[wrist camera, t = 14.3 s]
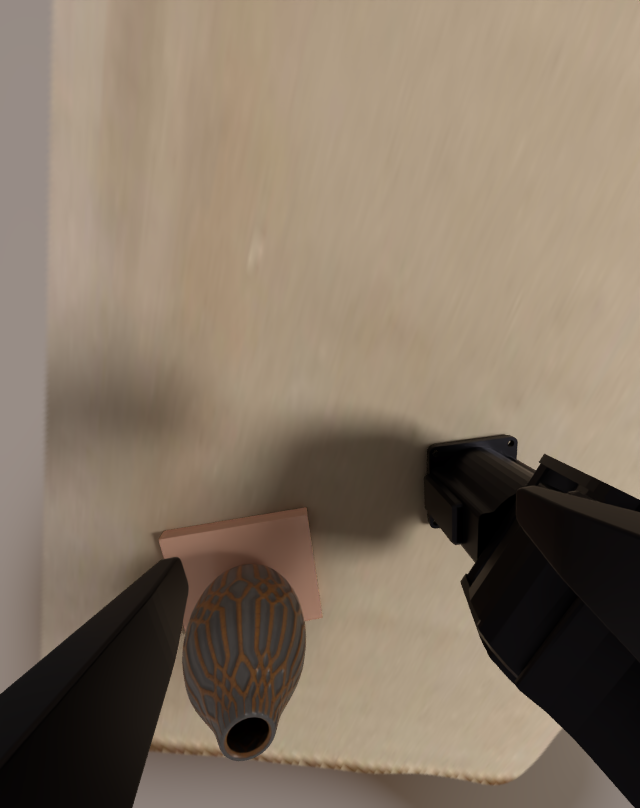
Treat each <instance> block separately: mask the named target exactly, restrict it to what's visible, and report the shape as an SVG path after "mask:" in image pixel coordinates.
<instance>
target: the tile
mask: <svg viewBox="0 0 640 808" xmlns="http://www.w3.org/2000/svg"><path fill="white" fill-rule="evenodd" d="M159 543H160V547H161V550H162V554H163V557H164V559H166V558H172V557H179V558H180V559H181V562H182V565H183V568H184V571H185V574H186V577H187V580H188V585H189V592H188V598H187V603H186V608H185V613H184V618H183V625H184V629H185V632H186V630H187V626H188V623H189V620H190V617H191V614H192V611H193V609H194V607H195V605H196V603H197V602H198V600H199V598H200V597H201V595H202V594H203V592H204V591H205V589H206V588H207V587H208V586H209V585H210V584H211V583H212V582H213V581H214V580H215V579H216V578H217V577H218V576H219V575H221V574H222V573H224V572H226V571H227V570H229V569H232V568H234V567H237V566H241V565H246V564H258V565H264V566H267V567H270V568H272V569H274V570H275V571H277V572H278V573H279V574H281V575H282V576H283V577H284V578H285V579H286V580H287V581H288V583H289V584H290V585H291V587H292V588H293V590H294V592H295V593H296V595H297V597H298V600H299V603H300V606H301V609H302V612H303V617H304V621H308V620H314V619H319V618H323V616H322V608H321V602H320V595H319V588H318V581H317V575H316V568H315V561H314V554H313V548H312V541H311V534H310V527H309V521H308V514H307V507H305V508H299V509H292V510H286V511H280V512H274V513H268V514H262V515H256V516H250V517H244V518H238V519H232V520H226V521H220V522H214V523H208V524H202V525H196V526H190V527H183V528H177V529H171V530H165V531H163V533H162V535H161V536H160V538H159Z"/></svg>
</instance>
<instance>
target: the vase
mask: <svg viewBox="0 0 640 808" xmlns="http://www.w3.org/2000/svg"><path fill="white" fill-rule="evenodd" d="M305 648H306V629H305V622H304V617H303V612H302V609H301V606H300V603H299V600H298V597H297V595H296V593H295V592H294V590H293V588H292V587H291V585H290V584H289V583H288V581H287V580H286V579H285V578H284V577H283V576H282V575H281V574H279V573H278V572H277V571H275V570H274V569H272V568H270V567H267V566H264V565H258V564H246V565H241V566H237V567H234V568H232V569H229V570H227V571H226V572H224V573H222V574H221V575H219V576H218V577H217V578H216V579H215V580H214V581H213V582H212V583H211V584H210V585H209V586H208V587H207V588H206V589H205V591H204V592H203V594H202V595H201V597H200V598H199V600H198V602H197V603H196V605H195V607H194V609H193V611H192V614H191V617H190V620H189V623H188V626H187V630H186V634H185V639H184V645H183V657H182V663H183V675H184V681H185V686H186V690H187V694H188V696H189V699H190V702H191V704H192V705H193V707H194V709H195V711H196V712H197V713H198V715H199V716H200V717H201V718H202V720H203V721H204V722H205V723H206V724H207V725H208V726H209V728H210V729H211V730H212V731H213V732H214V734H215V736H216V739H217V742H218V745H219V747H220V750H221V752H222V753H223V754H224V756H226V757H227V758H229V759H231V760H235V761H245V760H249V759H252V758H255V757H257V756H258V755H260V754H261V753H263V752H264V751H265V750H266V749H267V748H268V747H269V746H270V744H271V743H272V741H273V739H274V736H275V733H276V730H277V726H278V722H279V718H280V716H281V714H282V712H283V710H284V709H285V707H286V705H287V703H288V702H289V700H290V698H291V696H292V694H293V692H294V690H295V688H296V686H297V684H298V681H299V679H300V676H301V672H302V668H303V664H304V657H305Z"/></svg>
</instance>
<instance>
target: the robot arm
mask: <svg viewBox="0 0 640 808" xmlns="http://www.w3.org/2000/svg"><path fill="white" fill-rule="evenodd" d="M509 441H510V443H509V444H508V442H509ZM517 443H518V442H517V439H516V438H514V437H512V436H510V435H504V436H497V437H489V438H481V439H474V440H466V441H458V442H451V443H443V444H435V445H431V446H430V447H429V448H428V449H427V474H426V476H425V477H424V499H425V509H426V510H427V517H428V523H429V524H430V526H431V527H432V528H441V529H442V531H443V532H444V533H445V535H446V536H447V537H448V538H449V540H450V541H451V542H452V543H453V544H455V545H459V544H461V546H462V547H463V548H464V549H465V551H466V552H467V553H468V554H469V556H470V557H471V558H472V559H473V561H474V562H475V564H474V566H473V567H472V569H471V570H470V572H469V573H468V574H465V575H464V577H463V578H462V580H461V585H462V588H463V591H464V594H465V596H466V599H467V602H468V605H469V608H470V610H471V613H472V616H473V619H474V622H475V625H476V627H477V630H478V633H479V636H480V639H481V641H482V643H483V645H484V647H485V649H486V650H487V653H488V655H489V657H490V658H491V660H492V661H493V662H494V663H495V664H496V665H497V666H498V667H499V668H500V670H501V671H502V672H503V673H504V674H505V675H506V676H507V677H508V678H509V680H511V681H512V682H513V683H514V684H515V685H516V686H517V688H518V689H519V690H520V691H521V692H522V693H523V694H525V695H526V696H527V697H528V698H530V699H531V700H532V701H533V702H534V703H536V704H537V705H538V706H539V707H541V708H542V709H543V710H544V711H545V712H547V713H548V714H549V715H550V716H551V717H552V718H553V719H554V720H555V721H556V722H557V723H558V724H559V725H560V726H561V727H562V728H563V729H564V730H565V731H566V732H567V733H568V734H570V736H571V737H572V738H573V739H574V740H575V741H576V742H577V743H578V744H579V745H580V746H581V747H582V749H584V751H585V752H586V753H587V754H588V755H589V756H590V757H591V758H592V759H593V761H594V762H595V763H596V764H597V765H598V766H599V768H600V769H601V770H602V771H603V772H604V773H605V774H606V775H607V777H608V778H609V779H610V780H611V781H612V782H613V784H614V785H615V786H616V787H617V788H618V789H619V790H620V791H621V793H622V794H623V795H624V796H625V797H626V798H627V799H628V801H629V802H630V803H631V804H632V805H633V806H634V807H635V808H640V500H639V499H637V498H635V497H633V496H631V495H629V494H627V493H625V492H623V491H621V490H618V489H616V488H614V487H612V486H610V485H608V484H606V483H604V482H602V481H600V480H598V479H596V478H594V477H592V476H590V475H587V474H585V473H583V472H581V471H579V470H577V469H575V468H573V467H571V466H569V465H567V464H565V463H562V462H560V461H558V460H556V459H554V458H552V457H550V456H548V455H546V454H544V455H543V457H542V458H541V460H540V461H539V463H541V464H540V465H539V467H538V468H537V470H534V469H532V468H531V467H529V466H527V465H525V464H524V463H522V462H520V461H518V460H517ZM435 450H437V453H436V454H434V455H433V452H434V451H435ZM434 520H435V522H433V521H434ZM188 592H189V585H188V580H187V577H186V574H185V571H184V568H183V565H182V562H181V559H180V558H179V557H172V558H166V559H162V560H160V561H159V562H158V563H157V564H155V565H154V566H153V567H152V568H151V569H149V570H148V571H147V572H146V573H145V574H143V575H142V576H141V577H140V578H139V579H138V580H136V581H135V582H134V583H133V584H132V585H130V586H129V587H128V588H127V589H126V590H124V591H123V592H122V593H121V594H120V595H118V596H117V597H116V598H115V599H114V600H112V601H111V602H110V603H109V604H108V605H106V606H105V607H104V608H103V609H102V610H100V611H99V612H98V613H97V614H96V615H94V616H93V617H92V618H91V619H90V620H88V621H87V622H86V623H85V624H84V625H82V626H81V627H80V628H79V629H78V630H76V631H75V632H74V633H73V634H72V635H70V636H69V637H68V638H67V639H66V640H65V641H63V642H62V643H61V644H60V645H59V646H57V647H56V648H55V649H54V650H53V651H51V652H50V653H49V654H48V655H47V656H45V657H44V658H43V659H42V660H41V661H39V662H38V663H37V664H36V665H35V666H33V667H32V668H31V669H30V670H29V671H28V672H26V673H25V674H24V675H23V676H22V677H20V678H19V679H18V680H17V681H15V682H14V683H13V684H12V685H11V686H10V687H8V688H7V689H6V690H5V691H4V692H3V693H1V694H0V808H132V807H133V804H134V800H135V797H136V793H137V790H138V786H139V783H140V780H141V776H142V773H143V769H144V766H145V763H146V759H147V756H148V752H149V749H150V745H151V742H152V739H153V735H154V732H155V728H156V725H157V722H158V718H159V715H160V711H161V708H162V705H163V701H164V698H165V694H166V691H167V687H168V684H169V681H170V677H171V674H172V670H173V666H174V663H175V659H176V654H177V649H178V644H179V639H180V634H181V629H182V624H183V618H184V613H185V608H186V603H187V598H188Z"/></svg>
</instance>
